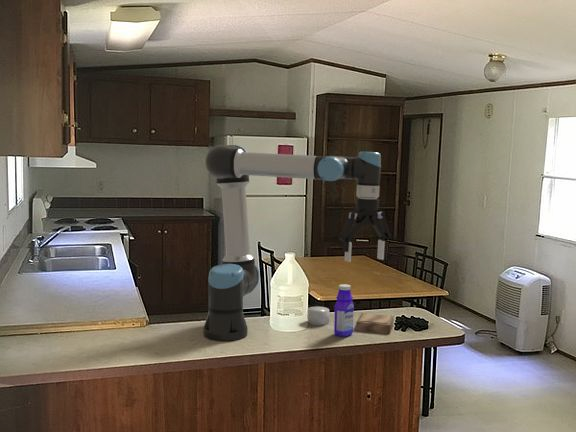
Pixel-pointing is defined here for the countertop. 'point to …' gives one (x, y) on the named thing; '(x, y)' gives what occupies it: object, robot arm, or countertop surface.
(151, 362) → the countertop surface
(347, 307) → the bottle
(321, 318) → the grey rounded block
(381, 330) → the base
